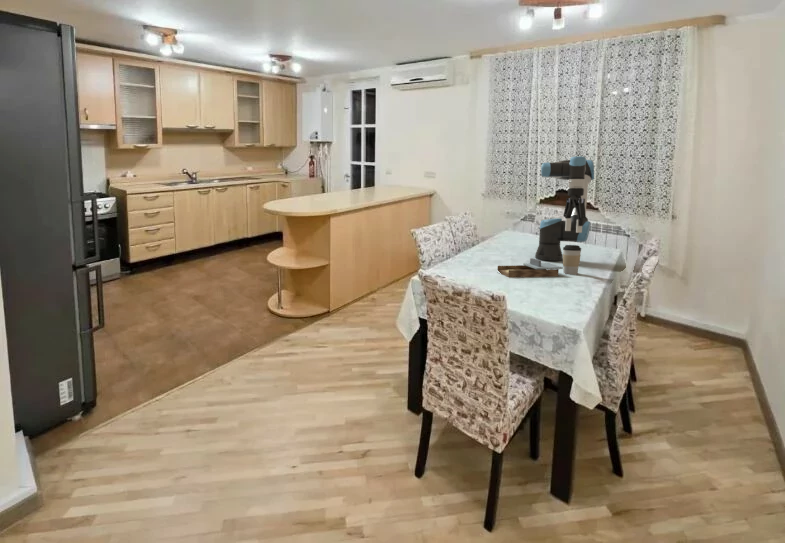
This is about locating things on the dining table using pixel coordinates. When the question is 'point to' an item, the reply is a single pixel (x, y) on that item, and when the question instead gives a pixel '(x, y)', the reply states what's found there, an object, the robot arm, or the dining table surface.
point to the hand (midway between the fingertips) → (573, 231)
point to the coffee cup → (571, 259)
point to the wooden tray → (526, 271)
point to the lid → (541, 265)
